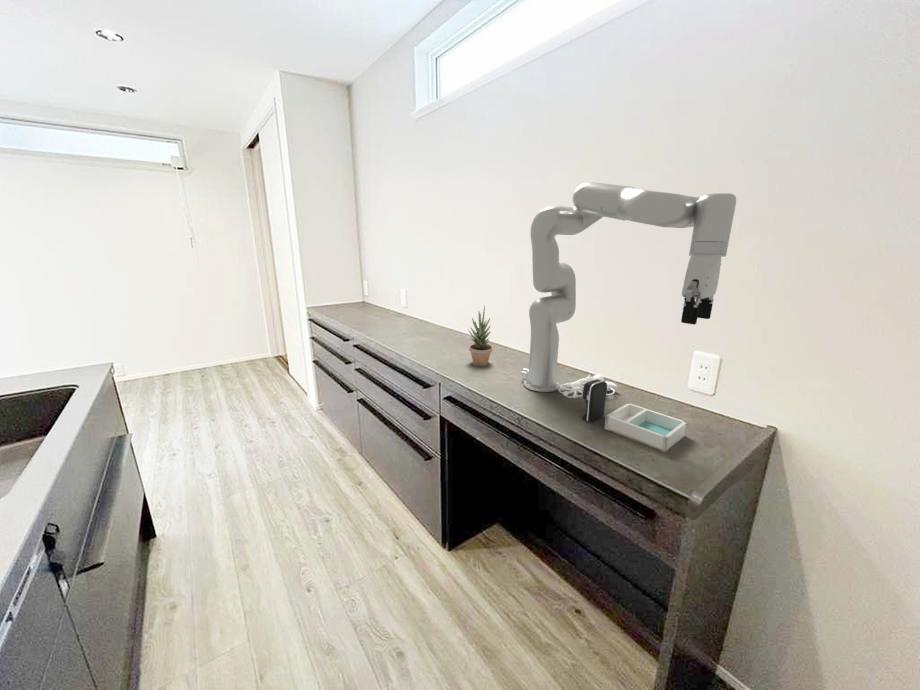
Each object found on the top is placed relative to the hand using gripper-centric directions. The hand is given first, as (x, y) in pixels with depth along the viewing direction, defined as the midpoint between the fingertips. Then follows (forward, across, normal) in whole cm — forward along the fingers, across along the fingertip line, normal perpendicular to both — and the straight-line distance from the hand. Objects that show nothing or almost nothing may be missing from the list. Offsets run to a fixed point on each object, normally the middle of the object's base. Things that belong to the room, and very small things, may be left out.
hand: (695, 320), depth 96 cm
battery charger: (+31, +9, -20) cm, 38 cm away
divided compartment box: (+31, +6, -6) cm, 32 cm away
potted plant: (+31, -2, -77) cm, 83 cm away
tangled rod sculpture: (+32, -8, -31) cm, 45 cm away
